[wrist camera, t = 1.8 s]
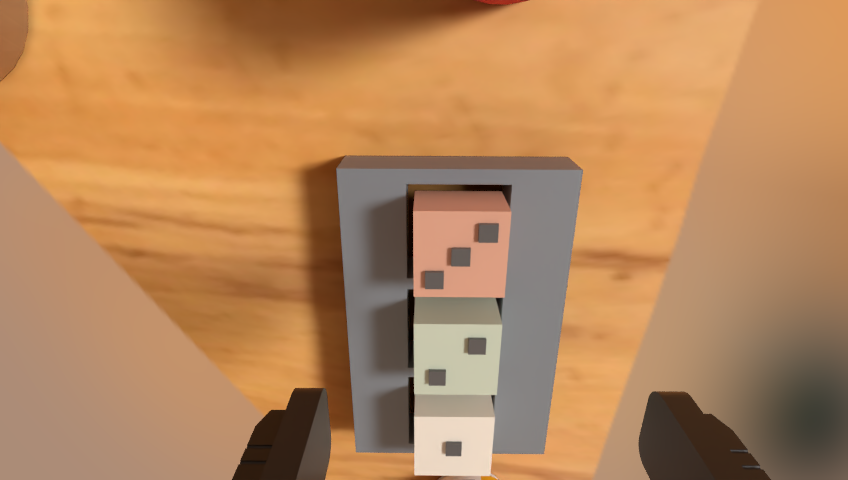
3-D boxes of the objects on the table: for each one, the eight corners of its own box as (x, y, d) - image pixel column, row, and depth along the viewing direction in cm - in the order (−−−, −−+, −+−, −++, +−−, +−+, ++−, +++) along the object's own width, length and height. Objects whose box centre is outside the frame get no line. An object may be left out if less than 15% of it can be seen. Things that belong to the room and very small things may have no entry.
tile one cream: (415, 434, 28) (414, 478, 25) (415, 379, 26) (414, 419, 23) (484, 435, 28) (490, 479, 25) (488, 379, 26) (495, 420, 23)
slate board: (361, 420, 30) (356, 452, 28) (345, 155, 24) (336, 168, 21) (534, 422, 30) (543, 453, 28) (567, 156, 24) (583, 169, 21)
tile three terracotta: (415, 268, 24) (413, 299, 21) (414, 190, 22) (413, 212, 19) (496, 268, 24) (505, 299, 21) (501, 191, 22) (512, 213, 19)
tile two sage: (415, 358, 26) (414, 397, 23) (415, 293, 24) (413, 326, 21) (489, 359, 26) (497, 397, 23) (494, 294, 24) (503, 327, 21)
